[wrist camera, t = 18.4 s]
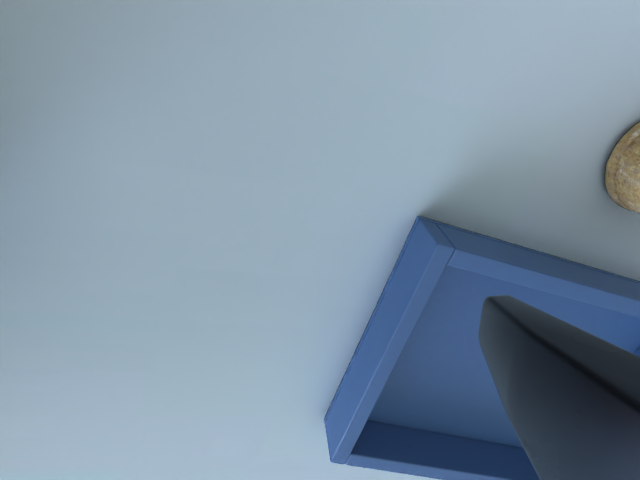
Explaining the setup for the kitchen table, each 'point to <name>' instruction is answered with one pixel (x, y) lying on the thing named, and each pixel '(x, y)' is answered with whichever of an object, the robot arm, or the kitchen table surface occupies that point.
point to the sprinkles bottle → (625, 171)
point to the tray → (458, 354)
